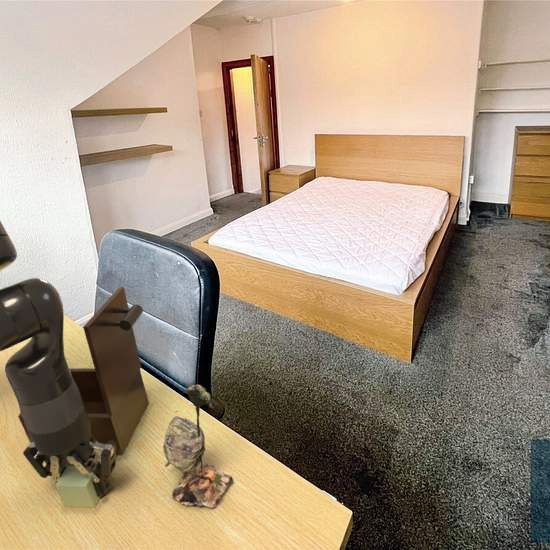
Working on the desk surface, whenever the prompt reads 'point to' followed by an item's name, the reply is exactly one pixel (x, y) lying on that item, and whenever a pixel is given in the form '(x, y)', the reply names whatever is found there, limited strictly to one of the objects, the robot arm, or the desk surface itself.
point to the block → (76, 489)
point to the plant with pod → (193, 457)
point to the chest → (102, 423)
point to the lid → (114, 347)
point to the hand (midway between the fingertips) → (86, 490)
